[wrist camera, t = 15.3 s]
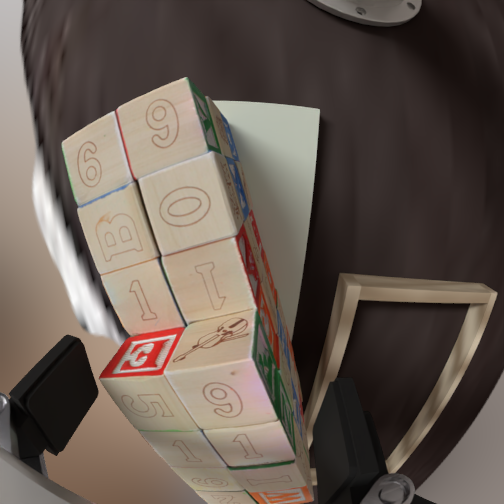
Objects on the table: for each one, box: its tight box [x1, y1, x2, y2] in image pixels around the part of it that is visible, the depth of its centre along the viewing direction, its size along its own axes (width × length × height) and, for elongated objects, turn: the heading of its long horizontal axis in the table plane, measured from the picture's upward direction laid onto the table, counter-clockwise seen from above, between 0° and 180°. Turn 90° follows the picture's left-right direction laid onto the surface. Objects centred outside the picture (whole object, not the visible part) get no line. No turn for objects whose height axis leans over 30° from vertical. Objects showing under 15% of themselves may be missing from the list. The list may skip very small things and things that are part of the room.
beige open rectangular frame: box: [304, 273, 497, 485], centre depth 23 cm, size 29×16×2 cm, turn 175°
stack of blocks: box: [62, 77, 314, 504], centre depth 14 cm, size 21×6×12 cm, turn 16°
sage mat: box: [213, 101, 320, 341], centre depth 21 cm, size 26×10×1 cm, turn 175°
